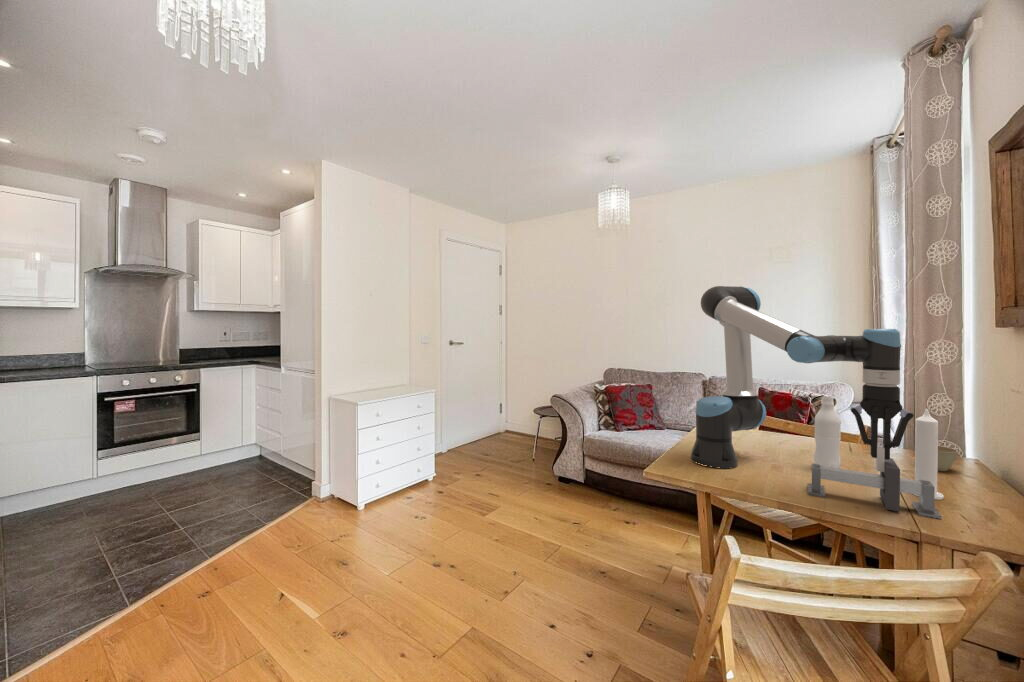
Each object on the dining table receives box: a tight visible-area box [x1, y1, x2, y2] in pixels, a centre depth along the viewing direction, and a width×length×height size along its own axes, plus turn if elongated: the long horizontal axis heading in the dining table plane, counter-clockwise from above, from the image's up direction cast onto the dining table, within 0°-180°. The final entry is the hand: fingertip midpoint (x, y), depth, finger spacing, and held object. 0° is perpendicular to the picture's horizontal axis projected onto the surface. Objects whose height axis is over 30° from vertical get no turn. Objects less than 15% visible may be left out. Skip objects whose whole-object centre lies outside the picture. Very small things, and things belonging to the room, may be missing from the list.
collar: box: [879, 457, 901, 512], centre depth 108 cm, size 2×11×11 cm, turn 143°
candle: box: [912, 408, 945, 501], centre depth 114 cm, size 7×7×25 cm
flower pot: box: [937, 445, 959, 472], centre depth 136 cm, size 10×10×7 cm
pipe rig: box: [806, 463, 942, 520], centre depth 111 cm, size 27×8×8 cm, turn 54°
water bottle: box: [813, 396, 842, 469], centre depth 135 cm, size 7×7×25 cm
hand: (879, 470), depth 109 cm, fingers closed
